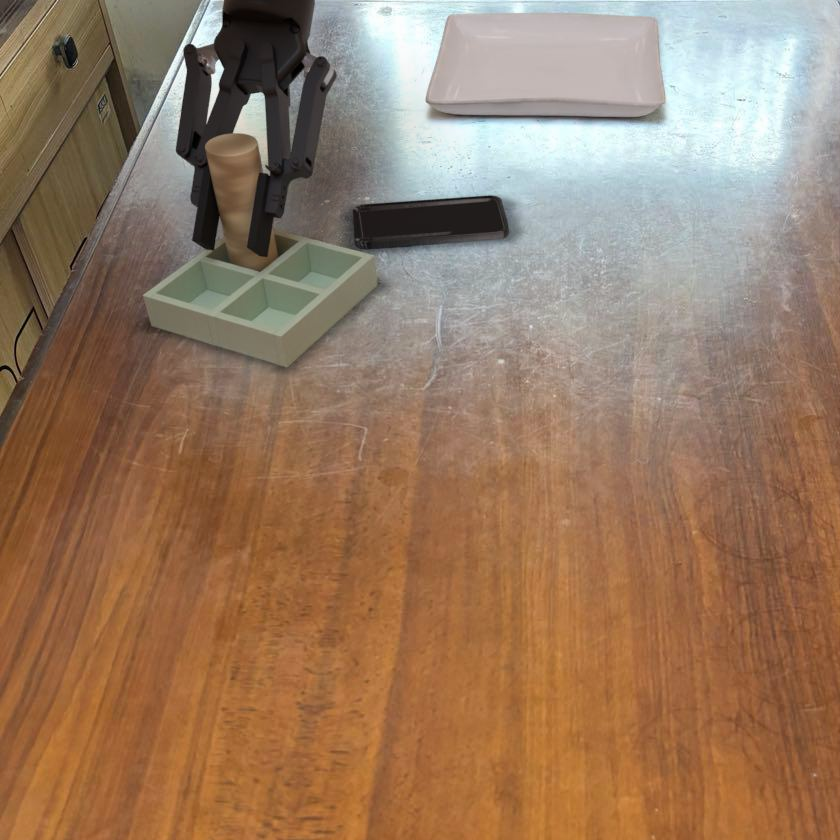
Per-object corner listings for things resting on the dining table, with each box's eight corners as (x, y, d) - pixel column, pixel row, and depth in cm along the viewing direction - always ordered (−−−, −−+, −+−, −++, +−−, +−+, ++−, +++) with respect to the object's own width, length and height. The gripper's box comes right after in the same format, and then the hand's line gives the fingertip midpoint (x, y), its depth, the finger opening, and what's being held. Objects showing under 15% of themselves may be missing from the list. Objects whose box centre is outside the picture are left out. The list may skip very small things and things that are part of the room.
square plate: (449, 40, 146) (447, 10, 143) (655, 44, 145) (658, 13, 143) (425, 128, 127) (423, 94, 124) (664, 132, 126) (667, 99, 123)
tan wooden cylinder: (219, 265, 100) (193, 149, 93) (249, 243, 103) (226, 129, 95) (259, 277, 99) (236, 159, 91) (288, 254, 102) (268, 138, 94)
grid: (152, 330, 97) (142, 295, 95) (250, 255, 106) (243, 220, 104) (288, 372, 93) (281, 336, 90) (378, 290, 102) (374, 255, 99)
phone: (352, 205, 111) (500, 194, 113) (353, 215, 112) (500, 204, 113) (354, 244, 105) (510, 232, 107) (356, 254, 106) (510, 242, 108)
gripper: (380, 14, 99) (338, 272, 98) (199, -1, 101) (159, 249, 101) (353, -31, 91) (308, 248, 91) (159, -47, 94) (115, 224, 94)
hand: (230, 248), depth 96 cm, fingers closed on tan wooden cylinder, 4 cm apart
